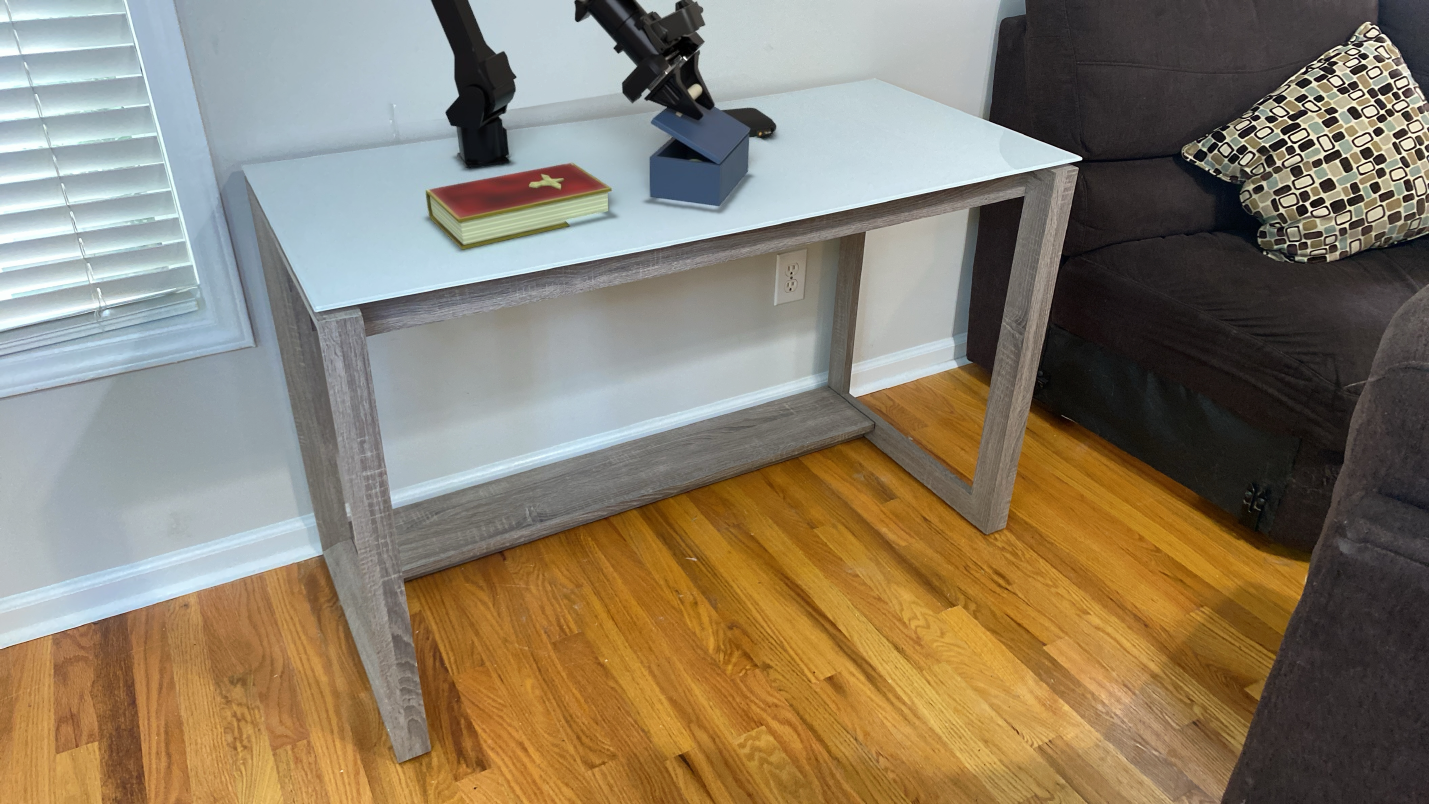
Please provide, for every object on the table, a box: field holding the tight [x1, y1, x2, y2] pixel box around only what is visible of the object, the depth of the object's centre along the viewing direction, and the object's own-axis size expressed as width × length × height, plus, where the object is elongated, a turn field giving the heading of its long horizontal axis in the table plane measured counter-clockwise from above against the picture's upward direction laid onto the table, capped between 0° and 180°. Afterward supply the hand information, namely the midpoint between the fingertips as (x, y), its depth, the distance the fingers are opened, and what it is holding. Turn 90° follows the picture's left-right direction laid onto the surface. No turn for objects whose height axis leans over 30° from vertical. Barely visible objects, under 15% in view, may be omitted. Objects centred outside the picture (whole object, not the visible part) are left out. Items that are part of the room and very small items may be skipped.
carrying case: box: [720, 107, 777, 139], centre depth 158 cm, size 11×3×15 cm
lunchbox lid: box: [650, 84, 750, 164], centre depth 132 cm, size 11×15×4 cm
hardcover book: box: [425, 162, 612, 250], centre depth 127 cm, size 12×21×4 cm, turn 123°
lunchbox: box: [649, 134, 750, 207], centre depth 137 cm, size 10×15×6 cm
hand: (707, 113), depth 132 cm, fingers closed on lunchbox lid, 5 cm apart
